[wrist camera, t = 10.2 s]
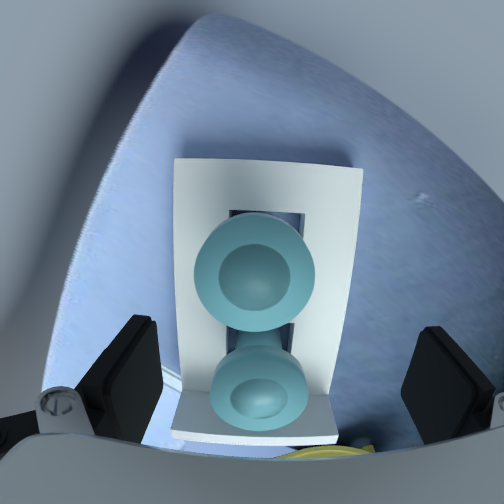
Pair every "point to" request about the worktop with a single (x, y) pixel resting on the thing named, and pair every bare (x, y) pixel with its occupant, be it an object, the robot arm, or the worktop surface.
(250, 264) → the teal round plug
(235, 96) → the worktop surface
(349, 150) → the worktop surface
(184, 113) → the worktop surface
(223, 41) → the worktop surface
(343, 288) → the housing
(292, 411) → the teal flanged peg
